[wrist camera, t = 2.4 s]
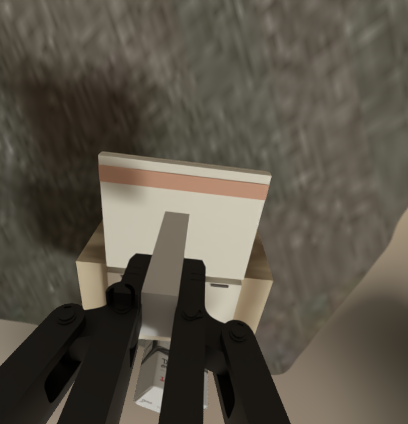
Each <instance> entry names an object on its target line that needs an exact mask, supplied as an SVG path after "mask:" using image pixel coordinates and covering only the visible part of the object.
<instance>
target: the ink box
mask: <svg viewBox="0 0 408 424" xmlns="http://www.w3.org/2000/svg"><path fill="white" fill-rule="evenodd" d="M169 348H170V341H161V340H149V339H147V340H146V344H145V349H144V354H143V359H142V363H141V368H140V372H139V377H138V381H137V385H136V390H135V395H134V400H133V401H134V402H135V403H136V404H137V405H139V406H143V407H145V408H148V409H150V410H153V411H156V412H158V413H160V409H161V403H162V396H163V389H164V382H165V375H166V369H167V362H168V355H169ZM206 408H208V370H207V369H205V371H204V410H205V409H206Z"/></svg>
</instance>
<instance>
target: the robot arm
mask: <svg viewBox="0 0 408 424" xmlns="http://www.w3.org/2000/svg"><path fill="white" fill-rule="evenodd" d="M189 215H190V214H185V213H176V212H168V211H165V214H164V217H163V221H162V224H161V227H160V231H159V234H158V237H157V241H156V244H155V248H154V251H153V254H152V255H149V254H140V253H136V254H135V255H133V256H132V257H131V258H130V259H129V262H128V264H127V268H126V269H125V272H124V274H123V277H122V279H121V281H120V282H116V283H113V284H112V285H110V286H109V287H108V288H107V290H106V291H105V294H106V305H104V306H102V307H98V308H94V309H88V310H84V309H83V307H82V306H80V305H78V304H74V303H70V304H64V305H62V306H60V307H57V308H56V309H55V310H54V311H52V312H51V313H50V314H49V316H48V317H47V318H46V319H45V320H44V321H43V322H42V323H41V324H40V325H39V326H38V327H37V328H36V329H35V330H34V331H33V333H32V334H31V335H29V337H28V338H27V339H26V340H25V341H24V342H23V343H22V344H21V345H20V346H19V347H18V348H17V349H16V350H15V351H14V352H13V353H12V354H11V355H10V356H9V357H8V359H7V360H6V361H5V362H4V363H3V364H2V365H1V366H0V424H46V423H47V421H48V420H49V418H50V417H51V415H52V414H53V412H54V411H55V409H56V408H57V406H58V405H59V403H60V402H61V400H62V399H63V397H64V396H65V394H66V393H67V391H68V390H69V388H70V387H71V385H72V384H73V383H74V384H73V386H72V389H71V391H70V394H69V396H68V398H67V401H66V403H65V406H64V408H63V410H62V413H61V415H60V418H59V420H58V422H57V424H119V421H120V417H121V413H122V409H123V405H124V401H125V397H126V393H127V389H128V385H129V381H130V377H131V373H132V369H133V365H134V361H135V357H136V353H137V349H138V338H139V334H140V331H141V335H148V336H158V337H168V338H171V341H170V348H169V355H168V362H167V369H166V375H165V382H164V389H163V396H162V403H161V409H160V416H159V423H158V424H203V410H204V371H205V369H207V370H209V371H212V372H213V375H214V380H215V384H216V388H217V392H218V397H219V401H220V405H221V410H222V414H223V418H224V422H225V424H291V423H290V421H289V418H288V416H287V413H286V411H285V409H284V406H283V404H282V401H281V399H280V396H279V394H278V392H277V389H276V386H275V384H274V382H273V379H272V377H271V374H270V372H269V369H268V367H267V364H266V362H265V360H264V357H263V355H262V352H261V350H260V347H259V345H258V342H257V340H256V337H255V335H254V333H253V331H252V329H251V328H250V326H249V325H247V324H246V323H245V322H243V321H240V320H230V321H227V322H226V323H223V322H221V321H218V320H216V319H214V318H213V317H211V316H210V315H209V313H208V312H207V310H206V308H205V280H206V266H205V264H204V262H203V261H202V260H198V259H190V258H184V257H185V250H186V241H187V232H188V223H189ZM74 381H75V382H74Z"/></svg>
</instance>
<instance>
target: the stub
mask: <svg viewBox="0 0 408 424" xmlns="http://www.w3.org/2000/svg"><path fill="white" fill-rule="evenodd" d="M98 160H99V165H98V167H99V180H100V186H101V199H102V212H103V225H104V238H105V251H106V263H107V266H108V267H118V268H127V264H128V262H129V259H130V258H131V257H132V256H133V255H135V254H136V253H140V254H149V255H152V254H153V251H154V248H155V244H156V241H157V237H158V234H159V231H160V227H161V224H162V221H163V217H164V214H165V211H168V212H176V213H185V214H190V215H189V223H188V232H187V241H186V250H185V257H184V258H190V259H198V260H202V261H203V262H204V264H205V266H206V276H209V277H219V278H229V279H240V280H244V276H245V272H246V268H247V265H248V261H249V257H250V254H251V250H252V246H253V243H254V239H255V235H256V231H257V228H258V224H259V220H260V217H261V213H262V209H263V205H264V202H265V200H266V196H267V192H268V189H269V183H270V180H271V174H270V172H268V171H260V170H252V169H243V168H235V167H227V166H219V165H211V164H202V163H194V162H186V161H178V160H169V159H161V158H153V157H145V156H137V155H128V154H120V153H112V152H104V151H102V152H101V153H100V154H99V155H98Z"/></svg>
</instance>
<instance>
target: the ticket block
mask: <svg viewBox="0 0 408 424" xmlns="http://www.w3.org/2000/svg"><path fill="white" fill-rule="evenodd" d="M76 265H77V271H78V278H79V285H80V291H81V298H82V304H83V309H84V310H88V309H94V308H98V307H102V306H104V305H106V294H105V291H106V290H107V288H108V287H109V286H110V285H112V284H113V283H116V282H120V281H121V279H122V277H123V274H124V272H125V269H126V268H118V267H108V266H107V263H106V251H105V238H104V225H103V219H102V221H101V222H100V224H99V226H98V227H97V229H96V230H95V232H94V233H93V235H92V237H91V238H90V240H89V241H88V243H87V244H86V246H85V248H84V249H83V251H82V252H81V254H80V256H79V257H78V259H77V260H76ZM272 283H273V279H272V275H271V272H270V268H269V265H268V261H267V258H266V255H265V251H264V248H263V244H262V241H261V238H260V234H259V231H258V228H257V231H256V235H255V239H254V243H253V246H252V250H251V254H250V257H249V261H248V265H247V268H246V272H245V276H244V280H240V279H229V278H219V277H209V276H206V280H205V308H206V310H207V312H208V313H209V315H210V316H211V317H213V318H214V319H216V320H218V321H221V322H223V323H226V322H227V321H230V320H240V321H243V322H245V323H246V324H247V325H249V326H250V328H251V329H252V331H253V333H254V334H255V332H256V329H257V326H258V323H259V320H260V317H261V314H262V311H263V309H264V306H265V303H266V300H267V297H268V294H269V291H270V288H271V285H272ZM138 339H149V340H161V341H171V338H168V337H158V336H148V335H141V331H140V334H139V338H138Z"/></svg>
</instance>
